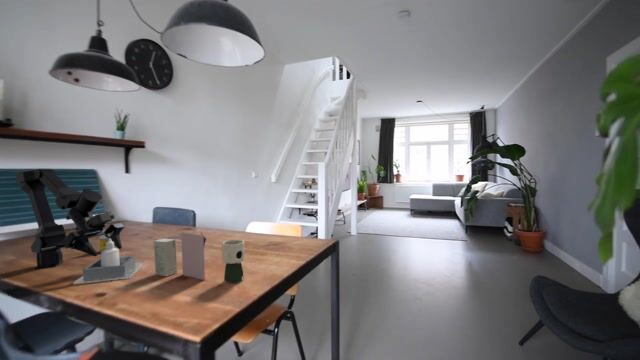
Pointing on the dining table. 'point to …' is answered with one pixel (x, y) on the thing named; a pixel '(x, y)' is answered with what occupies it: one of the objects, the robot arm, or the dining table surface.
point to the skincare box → (165, 257)
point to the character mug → (233, 259)
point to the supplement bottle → (103, 243)
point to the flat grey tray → (109, 271)
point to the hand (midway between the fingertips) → (109, 251)
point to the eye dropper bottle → (110, 255)
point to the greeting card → (193, 255)
